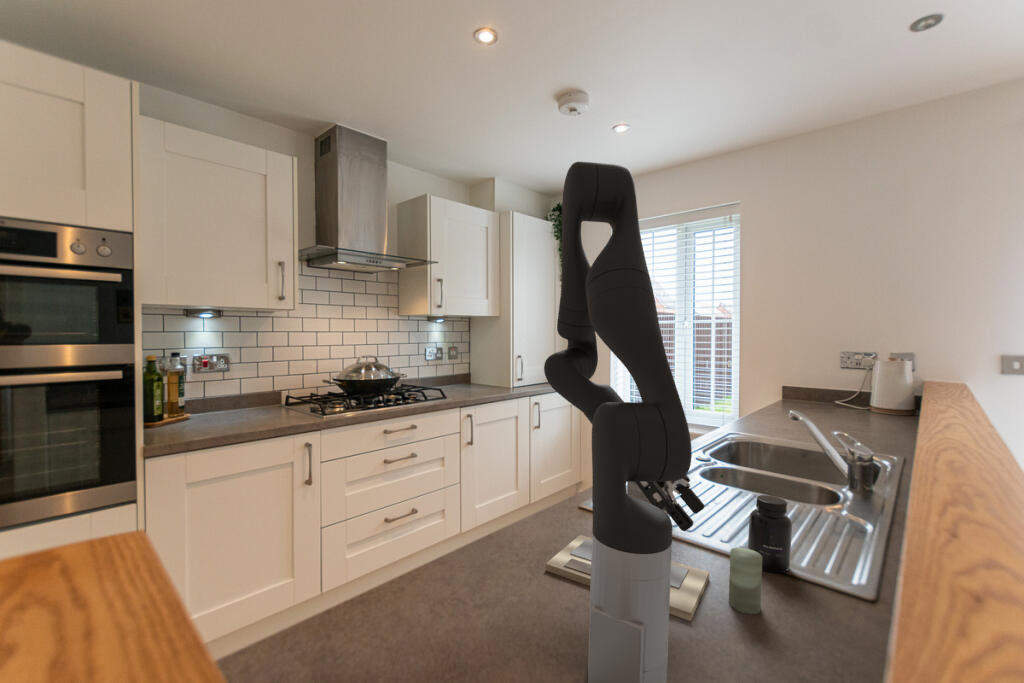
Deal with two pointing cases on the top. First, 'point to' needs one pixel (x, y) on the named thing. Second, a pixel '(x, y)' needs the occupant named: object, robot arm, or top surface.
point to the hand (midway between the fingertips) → (695, 518)
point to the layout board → (683, 578)
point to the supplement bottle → (771, 533)
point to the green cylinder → (745, 580)
